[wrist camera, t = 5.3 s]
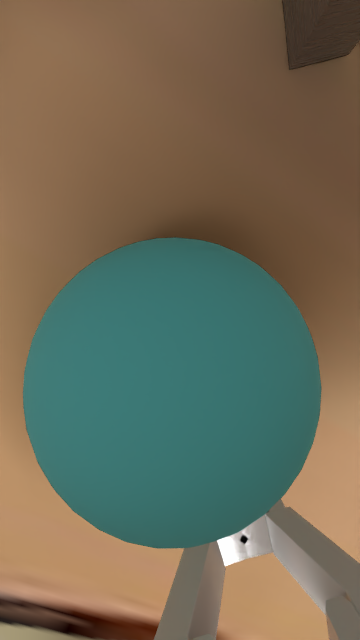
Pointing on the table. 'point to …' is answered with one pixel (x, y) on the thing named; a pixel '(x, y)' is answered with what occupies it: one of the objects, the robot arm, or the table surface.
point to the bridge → (320, 29)
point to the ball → (172, 393)
